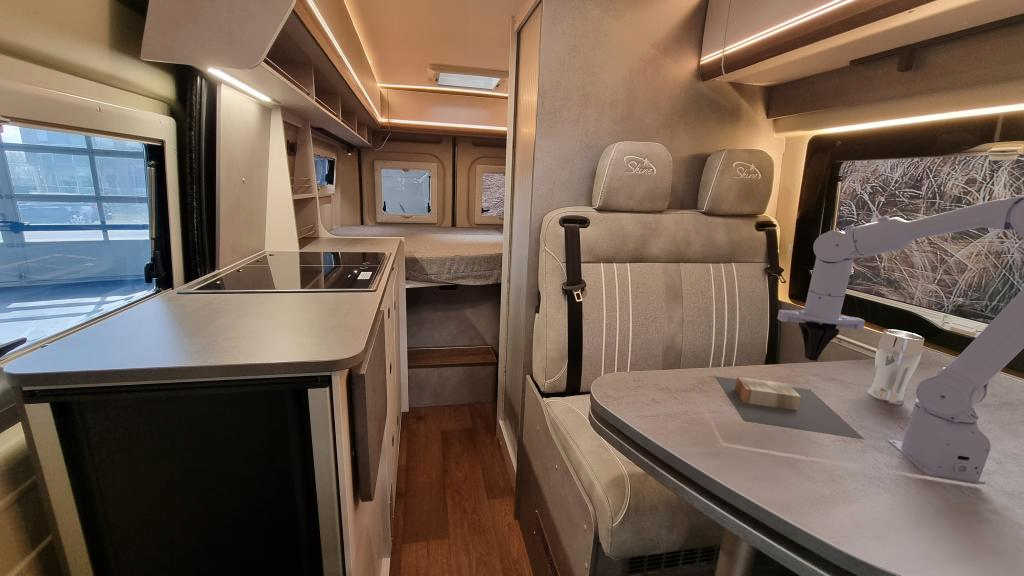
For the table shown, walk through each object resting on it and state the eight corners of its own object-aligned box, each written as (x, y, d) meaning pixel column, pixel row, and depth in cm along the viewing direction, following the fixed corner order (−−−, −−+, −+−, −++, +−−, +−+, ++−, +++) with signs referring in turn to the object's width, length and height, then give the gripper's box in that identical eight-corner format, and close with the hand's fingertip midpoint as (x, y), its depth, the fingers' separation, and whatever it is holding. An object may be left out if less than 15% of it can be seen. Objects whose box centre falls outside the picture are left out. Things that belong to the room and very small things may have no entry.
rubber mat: (864, 441, 75) (864, 439, 74) (743, 422, 78) (744, 420, 78) (809, 391, 94) (810, 389, 94) (714, 378, 97) (715, 376, 97)
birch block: (800, 396, 83) (746, 389, 85) (797, 410, 83) (743, 402, 85) (787, 383, 89) (736, 376, 90) (784, 396, 89) (734, 389, 91)
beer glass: (889, 392, 96) (907, 330, 93) (914, 407, 89) (935, 341, 86) (857, 389, 97) (874, 327, 93) (879, 404, 90) (899, 338, 86)
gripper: (855, 292, 84) (839, 356, 87) (777, 285, 86) (764, 347, 89) (878, 301, 77) (860, 369, 80) (792, 292, 80) (778, 359, 83)
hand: (810, 358), depth 84 cm, fingers closed
